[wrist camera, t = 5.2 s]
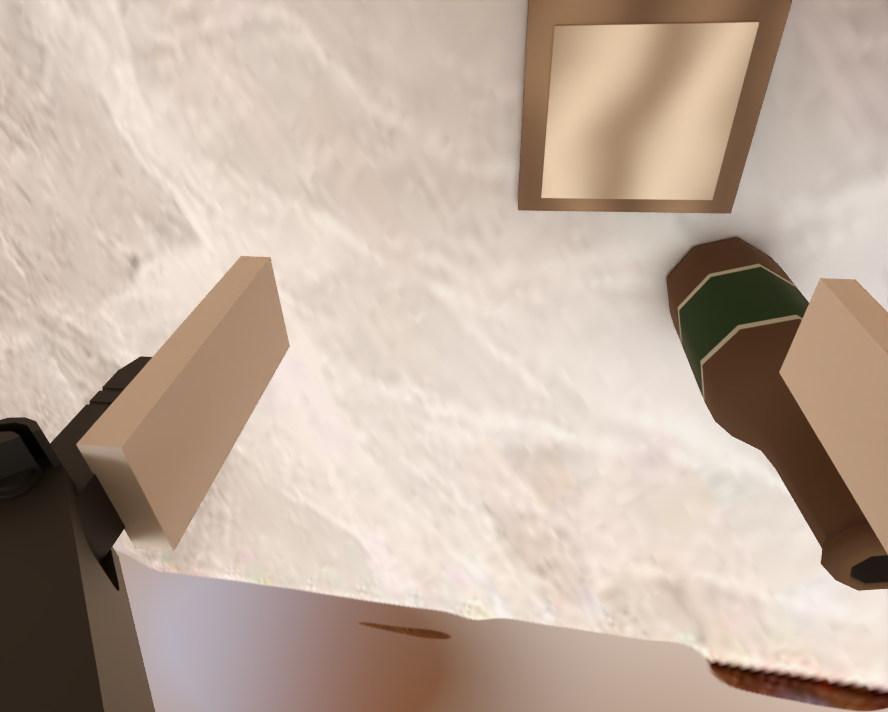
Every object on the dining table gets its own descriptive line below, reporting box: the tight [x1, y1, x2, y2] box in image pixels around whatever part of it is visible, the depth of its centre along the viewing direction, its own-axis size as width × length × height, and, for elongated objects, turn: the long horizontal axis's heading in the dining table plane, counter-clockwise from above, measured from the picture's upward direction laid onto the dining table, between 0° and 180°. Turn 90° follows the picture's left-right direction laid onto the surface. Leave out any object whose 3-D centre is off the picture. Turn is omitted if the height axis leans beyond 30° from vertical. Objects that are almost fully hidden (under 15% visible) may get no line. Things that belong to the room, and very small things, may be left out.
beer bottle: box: [667, 238, 888, 590], centre depth 32 cm, size 8×8×24 cm
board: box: [518, 0, 792, 213], centre depth 31 cm, size 14×24×2 cm, turn 2°
